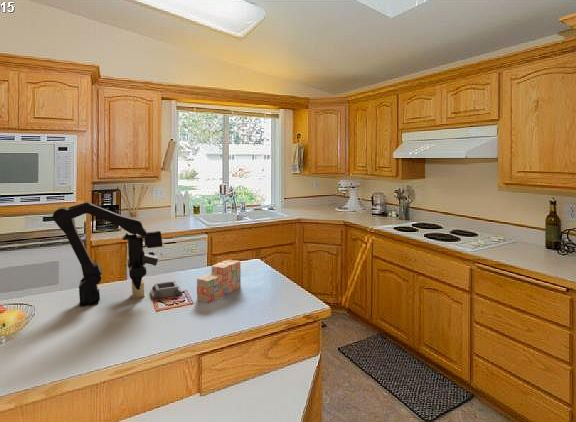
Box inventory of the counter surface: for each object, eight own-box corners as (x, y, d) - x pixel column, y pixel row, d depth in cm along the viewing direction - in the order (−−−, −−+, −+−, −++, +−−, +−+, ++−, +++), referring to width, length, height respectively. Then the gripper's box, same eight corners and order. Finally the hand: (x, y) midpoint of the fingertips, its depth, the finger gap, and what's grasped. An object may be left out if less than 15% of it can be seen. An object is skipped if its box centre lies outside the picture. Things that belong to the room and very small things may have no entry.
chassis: (152, 299, 148) (152, 291, 148) (150, 291, 157) (150, 283, 157) (183, 295, 154) (182, 287, 153) (179, 287, 162) (178, 279, 162)
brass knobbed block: (132, 298, 150) (131, 282, 149) (132, 294, 154) (131, 278, 153) (144, 296, 151) (143, 280, 150) (143, 293, 156) (142, 277, 154)
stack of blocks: (208, 303, 146) (207, 273, 144) (196, 300, 149) (196, 271, 147) (240, 287, 164) (240, 260, 162) (229, 284, 167) (229, 258, 165)
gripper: (159, 252, 145) (160, 290, 147) (154, 242, 161) (155, 276, 164) (128, 255, 140) (130, 294, 142) (126, 244, 157) (128, 279, 159)
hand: (137, 285), depth 152 cm, fingers open, 9 cm apart
